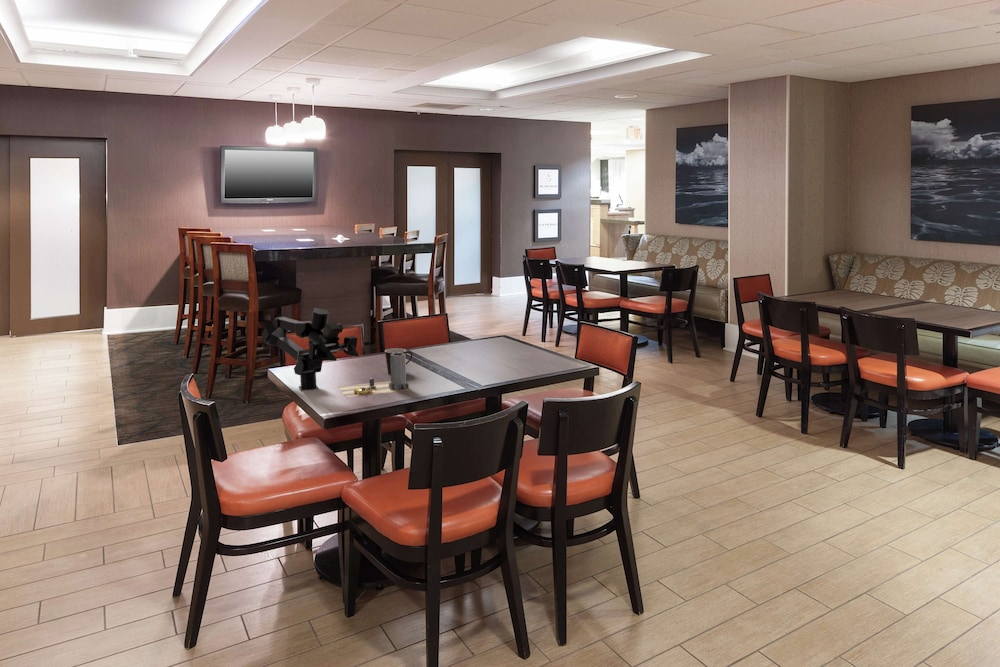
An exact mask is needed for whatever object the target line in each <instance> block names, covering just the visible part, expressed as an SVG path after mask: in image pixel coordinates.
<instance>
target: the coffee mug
mask: <svg viewBox="0 0 1000 667" xmlns="http://www.w3.org/2000/svg"><path fill="white" fill-rule="evenodd" d="M392 353H405V354H406V355H407V354H410V358H409V359H408V360H407V362H406V365H408V363H410V362H411V360H412V359H413V353H412V352H411V351H407V349H406V348H388V349H385V350H384V356H385V360H386V361H385V362H386V369H387V374H388V375H389V376H391V362H390V355H391V354H392Z"/></svg>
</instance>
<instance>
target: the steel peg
mask: <svg viewBox="0 0 1000 667" xmlns="http://www.w3.org/2000/svg"><path fill="white" fill-rule="evenodd" d="M368 383H369V387H368V388H370V389H371V388H372V389H373V388H376V386H374V383H375V379H374V378H373V377H371V378H369V381H368Z"/></svg>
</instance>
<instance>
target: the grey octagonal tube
mask: <svg viewBox="0 0 1000 667" xmlns="http://www.w3.org/2000/svg"><path fill="white" fill-rule="evenodd" d="M406 360H407V354H405V353H392V354H391V355H390V362H391V375H390V381H391V383H389V388H390V390H393V389H394V390H398V391H399V390H406V388H409V387H410V383H409V382H408V381H407V364H406Z"/></svg>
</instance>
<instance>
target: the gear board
mask: <svg viewBox="0 0 1000 667" xmlns="http://www.w3.org/2000/svg"><path fill="white" fill-rule="evenodd" d="M389 383H391V380H389V381H388V380H387V381H377V382H374V386H376V388H373V389H372V393H371V394H367V395H366V396H372V395H380V394H390V393H400V392H408V391H413V388H412V387H410V386H409V388H406V390H399V391H398V390H394V389H393V390H390V388H389ZM361 387H362V388H363V387H364V388H366V387H369V382H368V383H360V384H359V383H358V384H351V385H341V386H337V388H338V389H339V391H340V392H341V393H342V395H343V396H344V397H345V398H354V397H361V396H364V397H365V395H357V394H354V390H355V389H358V388H361ZM369 389H370V388H369Z"/></svg>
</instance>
